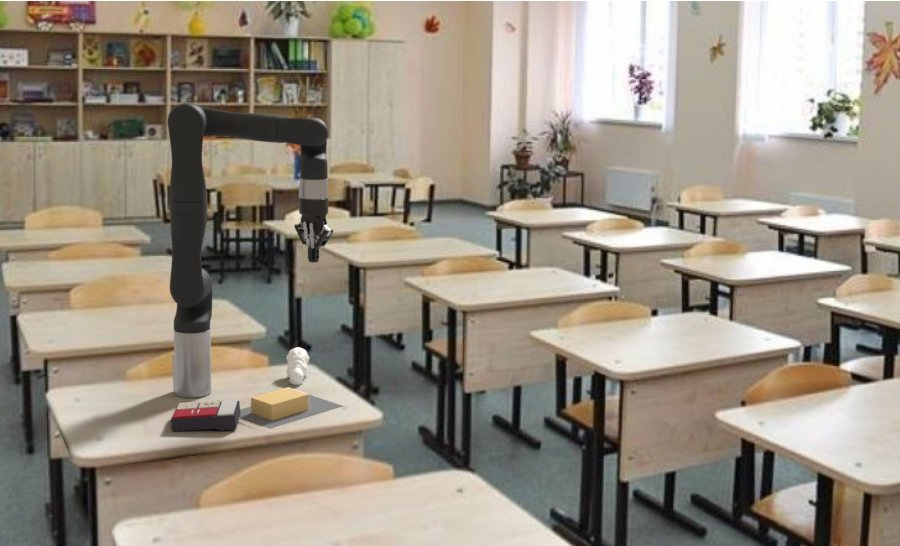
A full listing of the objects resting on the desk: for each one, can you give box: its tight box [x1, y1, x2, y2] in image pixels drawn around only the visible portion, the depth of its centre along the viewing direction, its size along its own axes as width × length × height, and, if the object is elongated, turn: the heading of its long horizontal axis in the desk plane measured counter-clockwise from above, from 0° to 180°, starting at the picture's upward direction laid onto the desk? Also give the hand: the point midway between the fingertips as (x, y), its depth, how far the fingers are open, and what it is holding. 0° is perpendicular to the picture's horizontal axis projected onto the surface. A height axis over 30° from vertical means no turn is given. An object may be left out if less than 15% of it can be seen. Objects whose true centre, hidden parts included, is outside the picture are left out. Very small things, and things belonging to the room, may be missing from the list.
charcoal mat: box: [239, 394, 343, 429], centre depth 267 cm, size 16×24×1 cm, turn 139°
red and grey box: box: [170, 399, 241, 432], centre depth 256 cm, size 11×4×15 cm
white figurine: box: [286, 346, 310, 386], centre depth 291 cm, size 6×8×12 cm
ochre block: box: [250, 386, 310, 420], centre depth 265 cm, size 8×4×12 cm
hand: (313, 261), depth 277 cm, fingers closed
